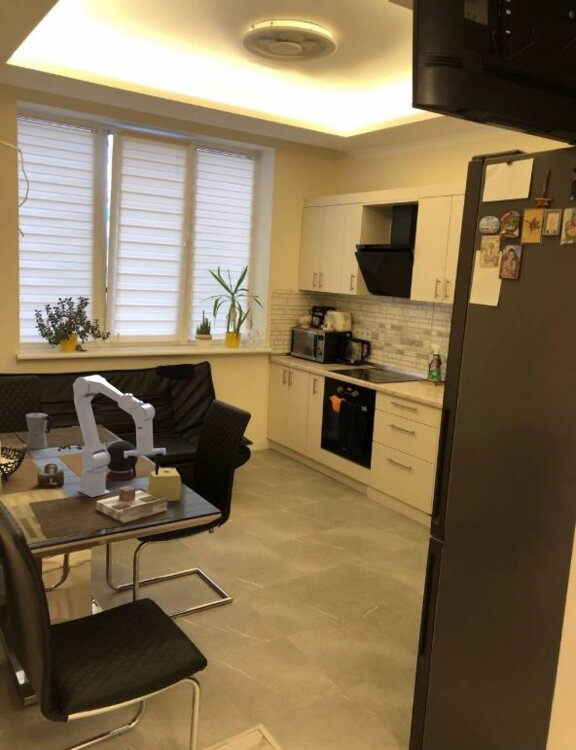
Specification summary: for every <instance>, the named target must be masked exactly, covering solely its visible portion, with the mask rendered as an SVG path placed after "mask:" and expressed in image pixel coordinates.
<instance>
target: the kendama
mask: <svg viewBox="0 0 576 750" xmlns="http://www.w3.org/2000/svg"><path fill="white" fill-rule="evenodd" d="M43 471H44V472H42V471H38V472H37V475H36V476H37V480H36V481H37V486H38V487H39V486H40V487H42V486H43V485H46V484H53V483H55V484H58V485H59V486H64V485H65V484H64V483H65V472H64V469H61V470H59V469H58V466H57V464H56V463H54V462H53V463H51V462H50V463H47V464H45V466H44V469H43Z"/></svg>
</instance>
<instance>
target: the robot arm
mask: <svg viewBox="0 0 576 750" xmlns="http://www.w3.org/2000/svg"><path fill="white" fill-rule="evenodd" d="M72 387H73V388H72V390H73V393H74V394H73V402H74V407H75V411H76V415H77V420H78V423H79V426H80V427H79V428H80V431H81V435H82V440H83V443H84V448H83V449H82V451H81V452H80V454H81V467H82V468H83V469H82V470H81V473H80V488H79V489H78V492H80V493H82V494H84V495H87V496H88V497H91V498H94V497H100V496H103V495H107V494H110V493H111V491H109V490H108V489H106V486H107V485H106V483H107V482H106V480H107V469H108V467H107V465H108V464H109V463H110V455H109V453H108V452H107V447H106V445H105V444H103V443H102V442H101V441H100V435H99V433H98V428H97V425H96V420H95V419H96V418H95V416H94V412H93V408H92V404H91V402H92V400H93V399H94V397H95V396H96V395H97V394H99V393H101V394H102V395H104V396H106V397H108V398H110V399H112V400H113V401H114V402H117V404H118V408H120V409H122V410H123V411H125V412H126V413H128V414H129V415H131V417H132V419H133V420H134V425H135V434H136V450H131V451H124V458H128V461H129V463H130V465H131V467H132V470H131V471H132V472H133V475H134V477H135V478H137V472H136V471H137V469H136V465H135V456H138V457H144V456H146V457H147V456H154V463H155V466H154V468H155V469H154V471H155V474H156V475H158V470H159V469H160V466H161V463H162V461H163V459H164V455H167V449H166V447H158V448H155V447H154V436H153V435H154V433H153V419H154V417H155V415H156V409H155V407H154V406H153V405H152V404H151V403H144V401H142V400H140V399H138V398H136V397H134V394H132V393H123V392H121V391H120V390H118V389H117V388H116V387H114V385H111V384H110V383H109V382H108V381H107V380H106V378H105V377H102V376H101V375H99V374H92V375H88V376H79V377H78V378H76V379H75V381H74V382H73V384H72Z"/></svg>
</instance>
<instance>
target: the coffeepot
mask: <svg viewBox="0 0 576 750" xmlns="http://www.w3.org/2000/svg"><path fill="white" fill-rule="evenodd" d="M24 416H25V419H26V424H27V425H26V426H27V430H28V435H27V441H26V445H25V447H26V449H27V450H34V451H36V450H44V449H46V448H48V441H47V440H48V439H47V434H49V433H50V432H51V429H52V427H53V422H54V419H53V418H52V416H51V415H48V414H46V413H43V412H42V413H41V412H40V409H39V408H35V412H32V413H26V414H25V415H24ZM47 422H48V426H47ZM46 429H47V430H46Z"/></svg>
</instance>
